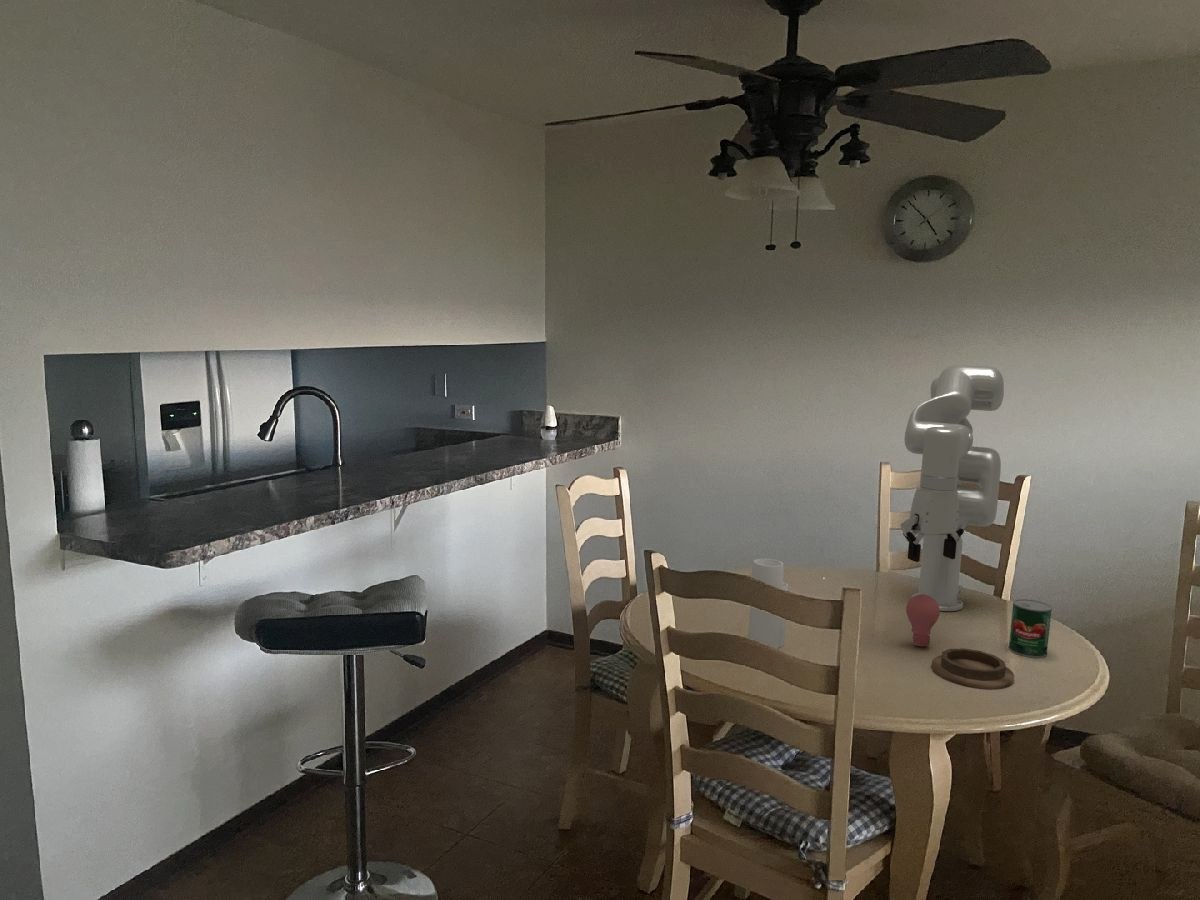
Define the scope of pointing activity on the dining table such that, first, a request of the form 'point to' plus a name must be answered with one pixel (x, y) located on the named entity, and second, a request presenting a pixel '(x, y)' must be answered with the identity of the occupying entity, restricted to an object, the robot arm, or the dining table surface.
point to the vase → (761, 622)
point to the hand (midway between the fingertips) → (931, 559)
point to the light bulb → (922, 617)
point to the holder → (973, 669)
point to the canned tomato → (1030, 628)
